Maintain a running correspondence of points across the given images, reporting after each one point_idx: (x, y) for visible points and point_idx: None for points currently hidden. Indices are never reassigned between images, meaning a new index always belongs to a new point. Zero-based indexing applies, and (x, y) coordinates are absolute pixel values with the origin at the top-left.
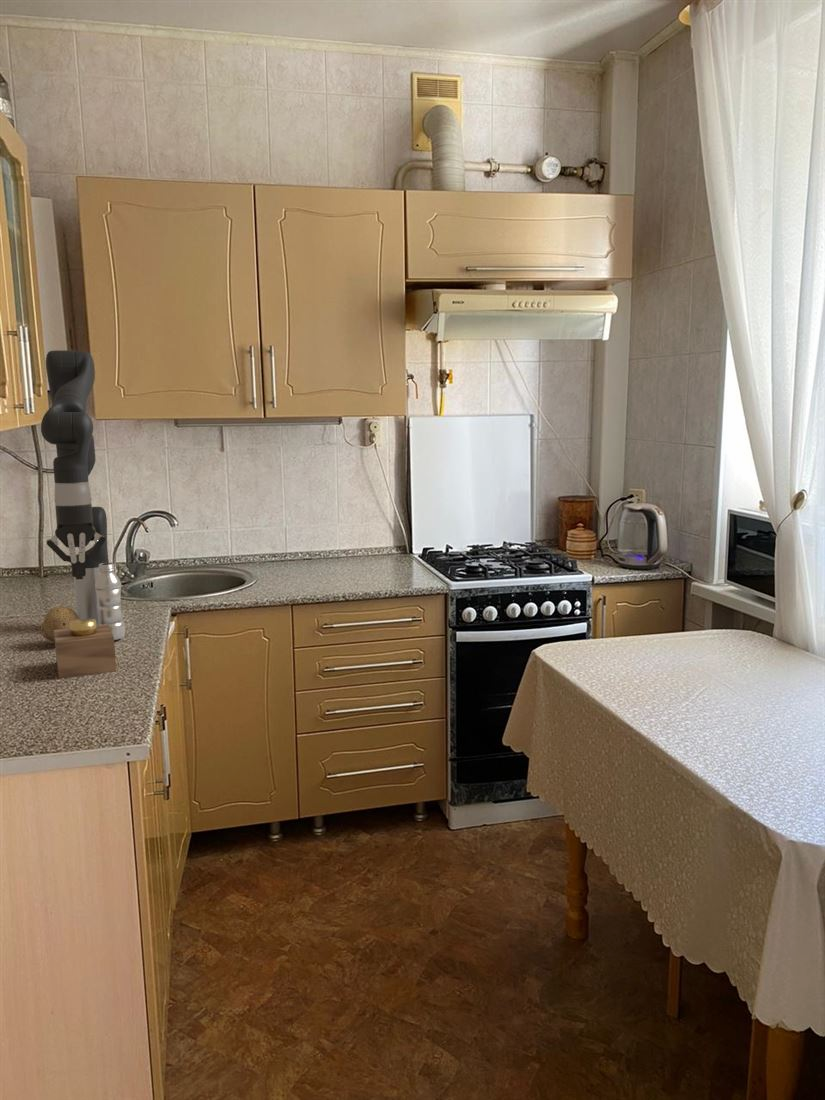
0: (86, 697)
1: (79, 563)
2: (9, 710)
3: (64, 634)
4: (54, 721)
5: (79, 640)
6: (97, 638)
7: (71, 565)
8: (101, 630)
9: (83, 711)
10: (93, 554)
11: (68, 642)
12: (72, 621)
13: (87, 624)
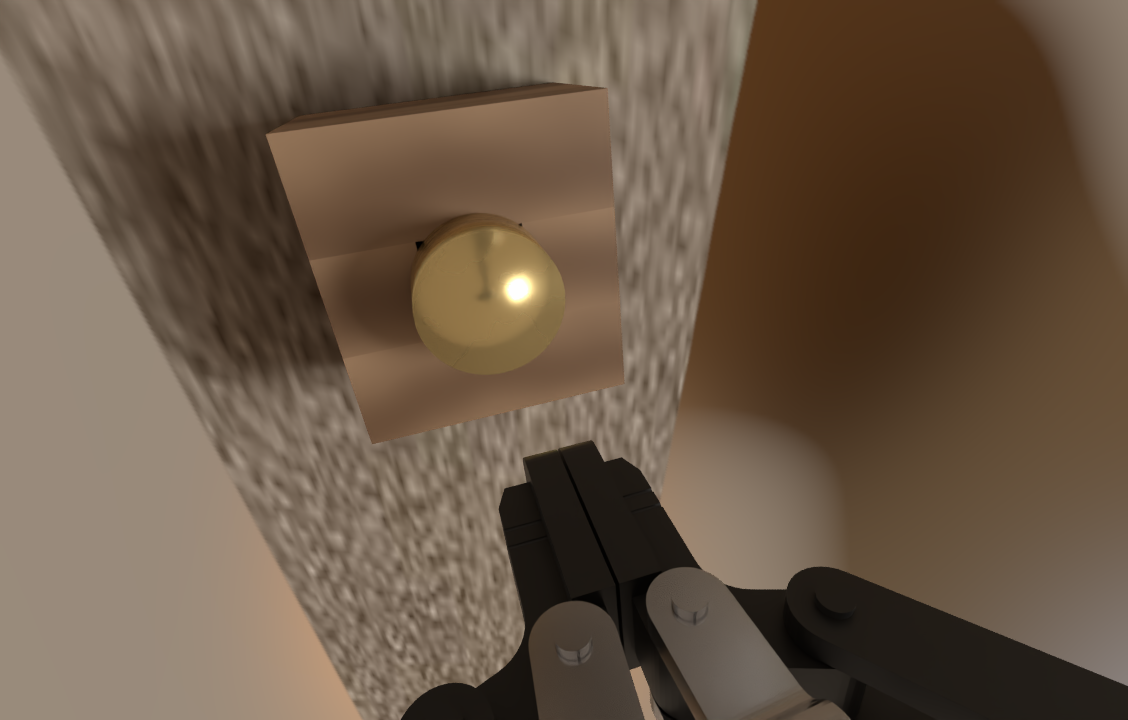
0: (501, 544)
1: (636, 664)
2: (305, 614)
3: (373, 278)
4: (448, 670)
5: (478, 417)
6: (556, 399)
7: (523, 612)
8: (569, 244)
9: (505, 624)
10: (872, 714)
11: (428, 429)
12: (426, 293)
13: (521, 363)
